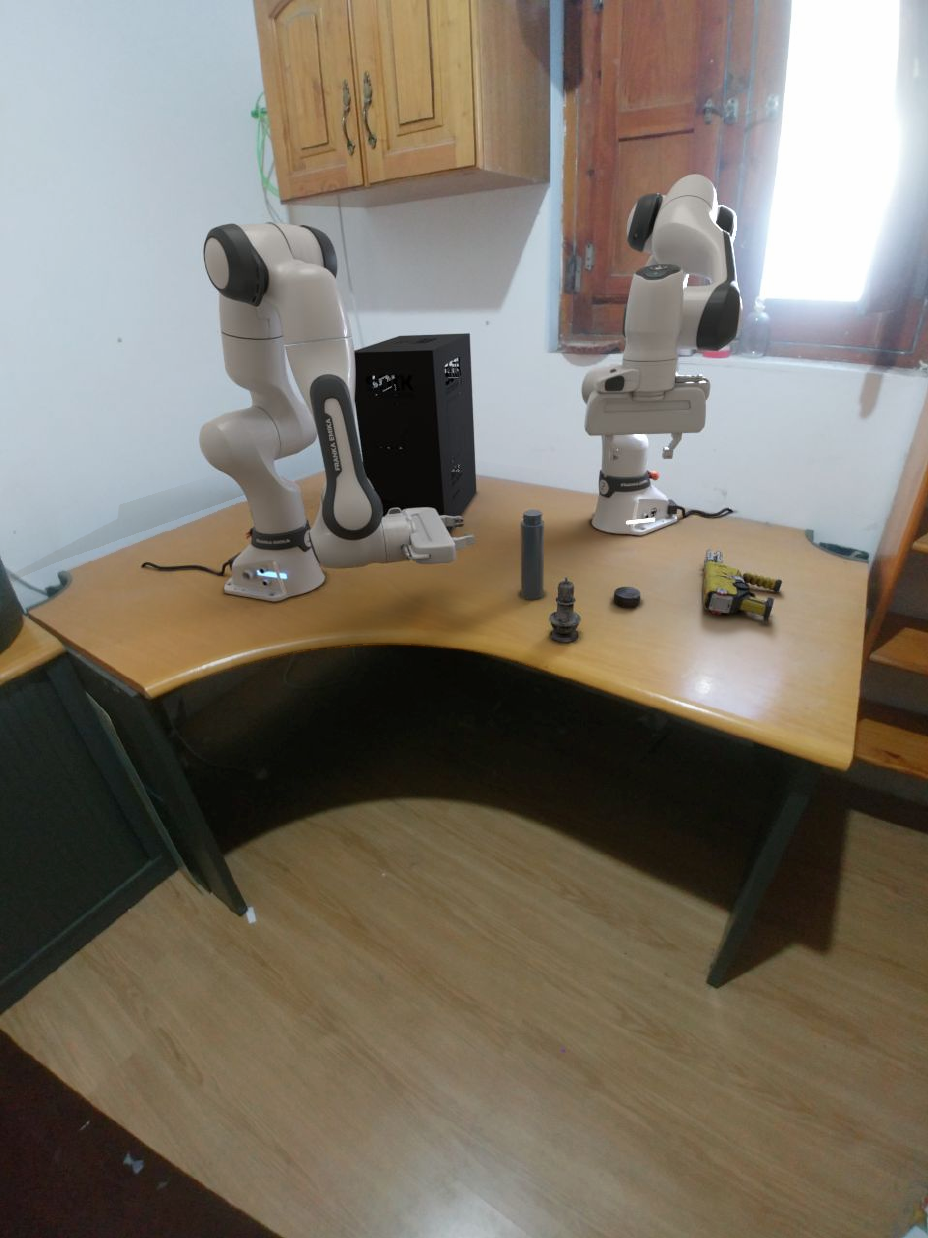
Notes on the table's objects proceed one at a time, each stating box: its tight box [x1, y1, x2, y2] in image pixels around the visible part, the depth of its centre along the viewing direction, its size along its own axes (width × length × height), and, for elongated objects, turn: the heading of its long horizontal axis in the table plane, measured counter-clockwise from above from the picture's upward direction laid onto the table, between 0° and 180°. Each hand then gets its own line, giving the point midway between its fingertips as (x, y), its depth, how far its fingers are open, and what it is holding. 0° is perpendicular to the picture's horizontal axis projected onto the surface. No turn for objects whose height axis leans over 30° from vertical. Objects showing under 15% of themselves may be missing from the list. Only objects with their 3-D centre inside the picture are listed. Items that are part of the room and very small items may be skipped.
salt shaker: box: [548, 576, 582, 643], centre depth 110 cm, size 6×6×12 cm
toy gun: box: [702, 548, 783, 622], centre depth 122 cm, size 5×24×15 cm
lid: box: [613, 586, 642, 609], centre depth 122 cm, size 5×5×2 cm
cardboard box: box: [354, 332, 477, 534], centre depth 163 cm, size 38×20×45 cm, turn 167°
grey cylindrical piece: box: [520, 509, 545, 601], centre depth 123 cm, size 5×5×18 cm
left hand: (468, 529), depth 117 cm, fingers open, 8 cm apart
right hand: (640, 458), depth 108 cm, fingers open, 8 cm apart
